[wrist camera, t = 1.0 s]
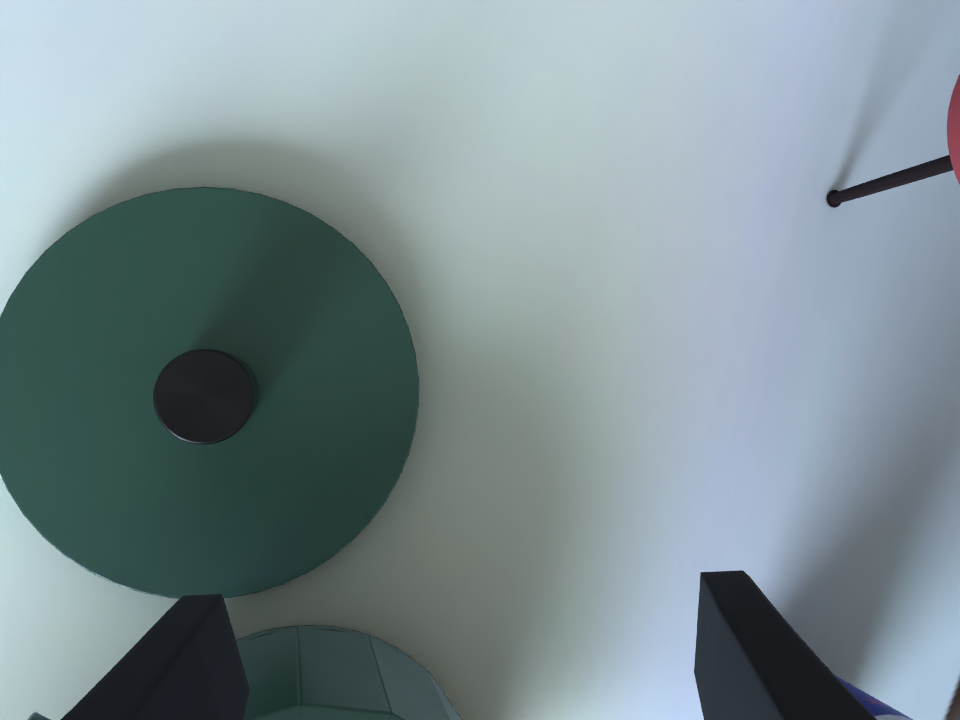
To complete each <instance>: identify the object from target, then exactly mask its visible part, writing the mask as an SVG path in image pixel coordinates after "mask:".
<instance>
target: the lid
mask: <svg viewBox="0 0 960 720" xmlns="http://www.w3.org/2000/svg"><path fill="white" fill-rule="evenodd" d="M418 406H419V377H418V369H417V361H416V354H415V350H414V346H413V342H412V338H411V334H410V331H409V328H408V325H407V323H406V320H405V318H404V315H403V313H402V310H401V308H400V306H399V304H398V302H397V300H396V299H395V297H394V295H393V293H392V291H391V290H390V288H389V286H388V284H387V283H386V281H385V280H384V279H383V277H382V276H381V275H380V273H379V272H378V271H377V269H376V268H375V267H374V265H373V264H372V263H371V262H370V261H369V260H368V259H367V258H366V257H365V255H364V254H363V253H362V252H361V251H360V250H359V249H358V248H357V247H356V246H355V245H354V244H353V243H352V242H350V241H349V240H348V239H347V238H345V237H344V236H343V235H342V234H340V233H339V232H338V231H337V230H335V229H334V228H333V227H331V226H330V225H328V224H327V223H325V222H323V221H322V220H320V219H318V218H317V217H315V216H314V215H312V214H310V213H308V212H306V211H304V210H302V209H300V208H297V207H295V206H293V205H291V204H289V203H286V202H284V201H281V200H277V199H274V198H271V197H268V196H265V195H262V194H258V193H253V192H247V191H242V190H236V189H231V188H213V187H194V188H179V189H171V190H165V191H160V192H155V193H150V194H145V195H142V196H139V197H136V198H133V199H130V200H127V201H124V202H121V203H118V204H116V205H114V206H112V207H110V208H108V209H105V210H103V211H101V212H99V213H97V214H95V215H93V216H91V217H90V218H88V219H87V220H85V221H83V222H82V223H80V224H79V225H77V226H76V227H74V228H73V229H71V230H70V231H68V232H67V233H66V234H64V235H63V236H62V237H61V238H60V239H59V240H57V241H56V242H55V243H54V244H53V245H52V246H50V247H49V248H48V249H47V250H46V251H45V252H44V253H43V254H42V255H41V256H40V257H39V259H38V260H37V261H36V262H35V263H34V264H33V265H32V266H31V268H30V269H29V270H28V271H27V272H26V273H25V275H24V276H23V278H22V279H21V281H20V282H19V284H18V285H17V287H16V288H15V290H14V291H13V293H12V294H11V296H10V298H9V300H8V302H7V304H6V306H5V308H4V310H3V312H2V314H1V316H0V474H1V476H2V479H3V481H4V483H5V485H6V487H7V490H8V491H9V493H10V494H11V496H12V498H13V499H14V501H15V502H16V504H17V505H18V507H19V508H20V510H21V511H22V513H23V515H24V516H25V517H26V518H27V519H28V520H29V521H30V523H31V524H32V525H33V526H34V527H35V528H36V530H37V531H38V532H39V533H40V534H41V535H42V536H43V537H44V538H45V539H46V540H47V541H48V542H49V543H51V544H52V545H53V546H54V547H55V548H56V549H58V550H59V551H60V552H61V553H62V554H63V555H64V556H66V557H68V558H69V559H71V560H72V561H74V562H75V563H77V564H78V565H80V566H81V567H83V568H84V569H86V570H87V571H89V572H91V573H93V574H95V575H97V576H99V577H102V578H104V579H106V580H108V581H110V582H112V583H114V584H117V585H120V586H123V587H126V588H129V589H132V590H135V591H138V592H141V593H146V594H151V595H157V596H162V597H167V598H176V599H180V598H181V597H182V596H186V595H208V594H222V595H223V598H231V597H236V596H241V595H247V594H252V593H257V592H260V591H263V590H266V589H269V588H272V587H275V586H278V585H282V584H284V583H286V582H288V581H290V580H293V579H295V578H297V577H299V576H301V575H303V574H306V573H308V572H309V571H311V570H312V569H314V568H316V567H317V566H319V565H321V564H322V563H324V562H325V561H327V560H329V559H330V558H332V557H333V556H334V555H335V554H336V553H338V552H339V551H340V550H341V549H343V548H344V547H345V546H346V545H348V544H349V543H350V542H351V541H352V540H353V539H354V538H355V537H356V536H357V535H358V534H359V533H360V532H361V531H362V530H363V529H364V528H365V527H366V526H367V525H368V524H369V523H370V522H371V520H372V519H373V518H374V516H375V515H376V514H377V512H378V511H379V510H380V508H381V507H382V506H383V504H384V503H385V502H386V500H387V498H388V497H389V495H390V493H391V491H392V490H393V488H394V486H395V484H396V483H397V481H398V479H399V477H400V474H401V472H402V470H403V467H404V465H405V462H406V460H407V457H408V455H409V451H410V448H411V444H412V440H413V437H414V433H415V428H416V421H417V414H418Z"/></svg>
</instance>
